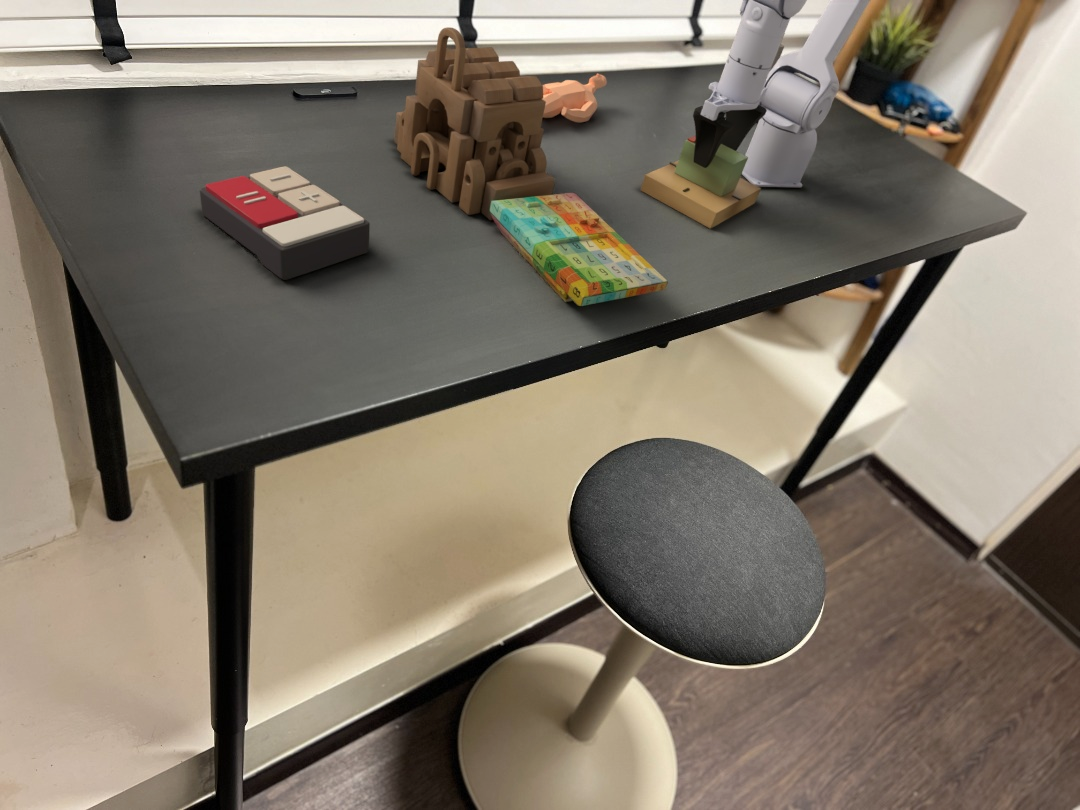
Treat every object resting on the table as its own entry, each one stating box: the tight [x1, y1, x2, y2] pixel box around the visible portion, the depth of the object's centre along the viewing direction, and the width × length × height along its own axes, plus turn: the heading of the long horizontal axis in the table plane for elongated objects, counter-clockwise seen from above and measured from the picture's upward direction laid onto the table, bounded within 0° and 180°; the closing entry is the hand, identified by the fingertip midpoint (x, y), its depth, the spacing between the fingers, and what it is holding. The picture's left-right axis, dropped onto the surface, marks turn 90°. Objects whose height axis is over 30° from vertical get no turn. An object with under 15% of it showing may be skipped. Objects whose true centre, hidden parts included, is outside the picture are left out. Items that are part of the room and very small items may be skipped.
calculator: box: [199, 165, 371, 281], centre depth 84 cm, size 11×4×15 cm
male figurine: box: [542, 73, 607, 123], centre depth 124 cm, size 11×5×25 cm
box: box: [674, 134, 748, 197], centre depth 110 cm, size 8×4×5 cm, turn 52°
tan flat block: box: [640, 160, 762, 230], centre depth 113 cm, size 14×12×3 cm
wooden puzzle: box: [393, 26, 556, 221], centre depth 98 cm, size 22×15×19 cm, turn 39°
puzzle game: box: [489, 192, 669, 307], centre depth 90 cm, size 12×5×20 cm
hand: (713, 158), depth 110 cm, fingers open, 7 cm apart
